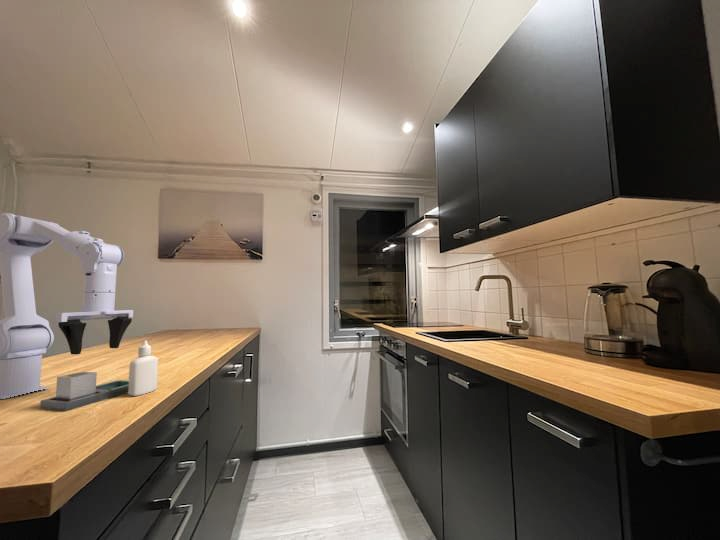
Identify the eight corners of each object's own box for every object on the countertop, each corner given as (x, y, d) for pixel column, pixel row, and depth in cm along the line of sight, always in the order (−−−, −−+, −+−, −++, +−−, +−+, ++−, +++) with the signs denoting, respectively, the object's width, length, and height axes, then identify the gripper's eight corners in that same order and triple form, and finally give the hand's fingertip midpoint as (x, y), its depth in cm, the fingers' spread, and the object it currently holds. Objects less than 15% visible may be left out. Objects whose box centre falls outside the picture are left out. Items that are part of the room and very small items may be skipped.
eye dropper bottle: (126, 393, 67) (129, 341, 68) (155, 388, 71) (157, 338, 72) (129, 397, 64) (131, 343, 65) (159, 391, 68) (161, 339, 69)
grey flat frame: (40, 408, 59) (40, 399, 59) (119, 386, 73) (119, 379, 74) (65, 411, 57) (66, 402, 57) (142, 388, 71) (142, 381, 71)
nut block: (55, 406, 60) (57, 376, 61) (81, 399, 64) (83, 371, 65) (69, 408, 59) (71, 377, 59) (95, 400, 63) (96, 371, 64)
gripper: (72, 291, 60) (67, 357, 59) (142, 292, 74) (140, 346, 73) (51, 292, 62) (46, 356, 61) (123, 293, 76) (120, 345, 75)
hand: (95, 350), depth 67 cm, fingers open, 7 cm apart
